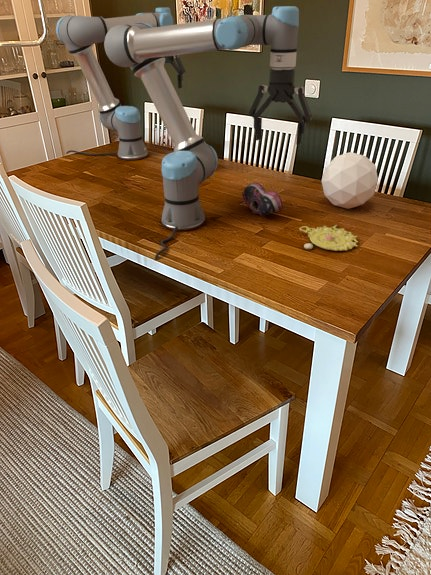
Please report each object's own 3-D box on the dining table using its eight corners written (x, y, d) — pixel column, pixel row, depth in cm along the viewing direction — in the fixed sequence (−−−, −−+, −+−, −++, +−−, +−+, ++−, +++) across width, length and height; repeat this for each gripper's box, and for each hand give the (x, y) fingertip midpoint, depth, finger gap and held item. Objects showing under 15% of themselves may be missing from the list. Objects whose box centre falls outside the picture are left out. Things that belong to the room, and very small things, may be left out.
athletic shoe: (254, 181, 170) (227, 189, 167) (283, 176, 151) (253, 185, 147) (260, 210, 173) (234, 218, 170) (290, 209, 154) (261, 219, 150)
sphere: (353, 227, 164) (368, 198, 145) (307, 200, 169) (316, 169, 150) (378, 190, 169) (396, 158, 150) (333, 165, 174) (345, 131, 155)
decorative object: (343, 255, 128) (285, 234, 139) (342, 262, 130) (284, 241, 140) (372, 230, 142) (317, 213, 152) (371, 237, 143) (316, 219, 153)
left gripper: (141, 43, 230) (145, 87, 241) (183, 43, 220) (186, 89, 232) (148, 42, 235) (153, 85, 247) (190, 42, 226) (192, 87, 238)
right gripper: (238, 68, 132) (237, 140, 144) (320, 71, 123) (312, 148, 134) (248, 65, 138) (247, 135, 149) (327, 68, 128) (319, 142, 140)
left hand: (169, 87), depth 239 cm, fingers open, 13 cm apart
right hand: (278, 141), depth 142 cm, fingers open, 13 cm apart
